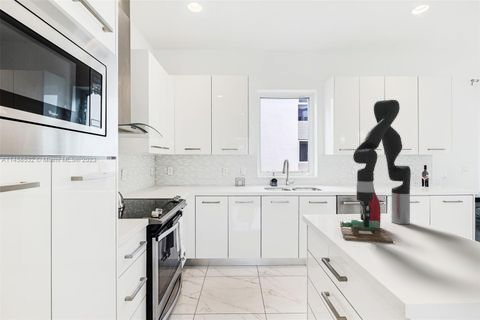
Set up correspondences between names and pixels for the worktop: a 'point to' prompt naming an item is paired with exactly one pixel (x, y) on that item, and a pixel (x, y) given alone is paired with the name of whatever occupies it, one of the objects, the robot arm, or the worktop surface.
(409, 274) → the worktop surface
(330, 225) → the worktop surface
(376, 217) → the wine bottle
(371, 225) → the green bottle
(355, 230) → the walnut bottle rack
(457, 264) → the worktop surface
